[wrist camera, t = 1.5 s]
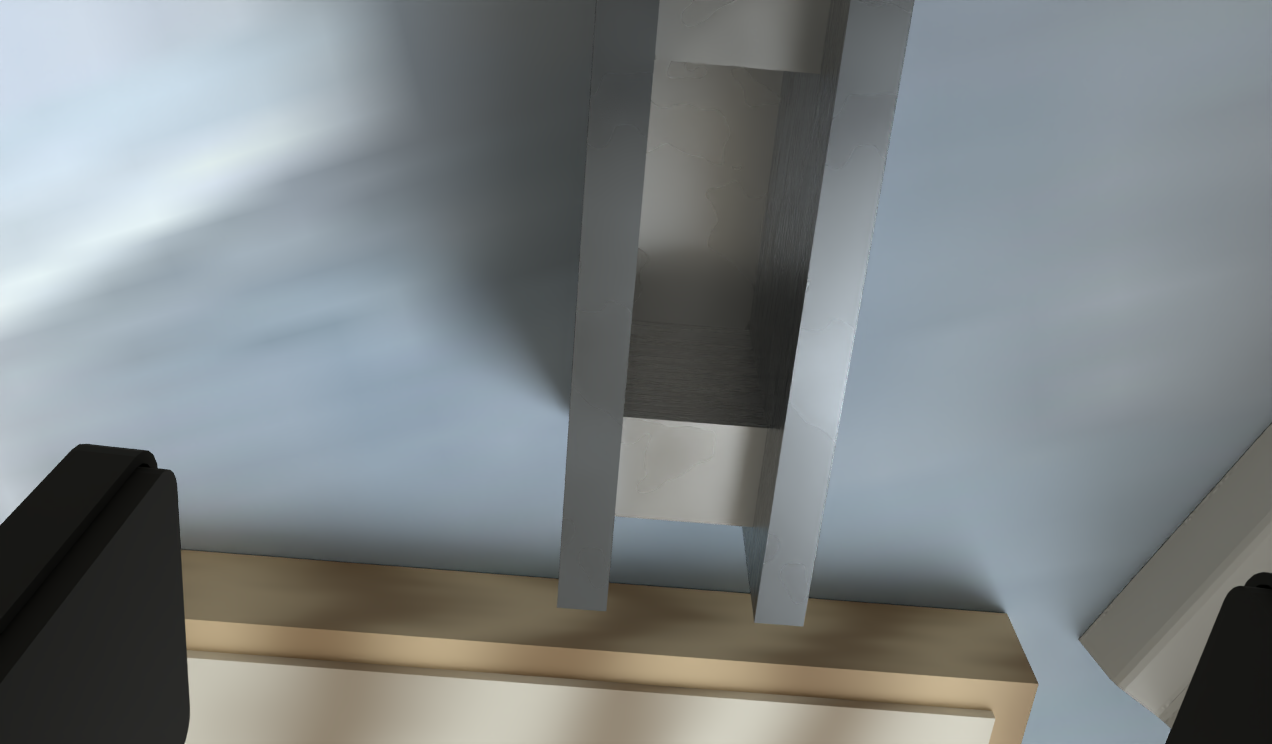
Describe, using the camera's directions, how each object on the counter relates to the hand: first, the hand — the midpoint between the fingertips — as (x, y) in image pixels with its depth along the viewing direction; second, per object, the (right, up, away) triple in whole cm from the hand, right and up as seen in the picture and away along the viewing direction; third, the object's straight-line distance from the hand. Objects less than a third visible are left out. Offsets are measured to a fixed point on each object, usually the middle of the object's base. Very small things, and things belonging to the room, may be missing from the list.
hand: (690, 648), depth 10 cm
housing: (+1, +7, +17) cm, 19 cm away
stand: (-2, -9, +25) cm, 26 cm away
